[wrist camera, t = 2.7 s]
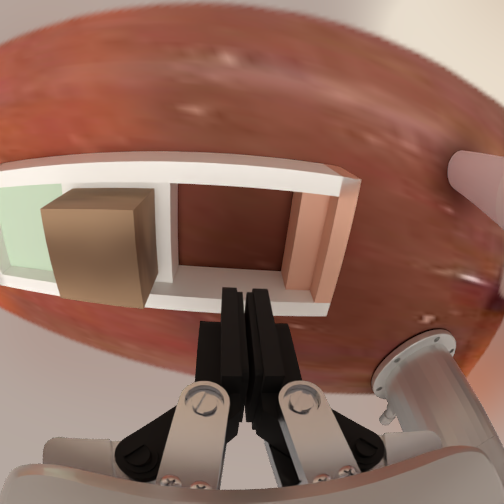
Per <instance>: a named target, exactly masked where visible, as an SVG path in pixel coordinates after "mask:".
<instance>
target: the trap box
mask: <svg viewBox="0 0 504 504" xmlns="http://www.w3.org/2000/svg"><path fill="white" fill-rule="evenodd" d="M178 183H183V184H205V185H222V186H237V187H251V188H263V189H274V190H285V191H294V192H293V198H292V205H291V212H290V218H289V225H288V231H287V237H286V243H285V250H284V256H283V262H282V268H281V271H267V270H249V269H232V268H216V267H200V266H185V265H179V261H178ZM360 185H361V179H359V178H358V177H356V176H355V175H353V174H351V173H350V172H348V171H346V170H344V169H343V168H341V167H339V166H334V165H328V164H321V163H314V162H307V161H299V160H291V159H283V158H273V157H263V156H252V155H240V154H225V153H207V152H177V151H134V152H104V153H87V154H74V155H62V156H52V157H43V158H35V159H27V160H20V161H13V162H7V163H2V164H0V285H3V286H8V287H13V288H18V289H23V290H29V291H34V292H40V293H45V294H51V295H57V296H60V294H59V290H58V287H57V284H56V280H55V277H54V273H53V269H52V265H51V261H50V257H49V253H48V248H47V244H46V239H45V234H44V229H43V223H42V217H41V211H40V209H41V208H42V207H44V206H45V205H47V204H48V203H50V202H52V201H53V200H55V199H56V198H58V197H60V196H61V195H63V194H64V193H66V192H68V191H69V190H71V189H73V188H154V190H155V227H156V246H157V261H158V275H157V277H156V280H155V282H154V285H153V287H152V290H151V292H150V294H149V297H148V299H147V302H146V304H145V307H149V308H159V309H170V310H182V311H195V312H209V313H221V301H222V287H232V288H237V292H243V304H244V312H245V302H246V294H247V292H252V289H253V288H258V289H268V292H269V297H270V302H271V307H272V312H273V316H327V313H328V309H329V306H330V303H331V300H332V296H333V293H334V290H335V286H336V283H337V279H338V276H339V272H340V269H341V265H342V261H343V257H344V254H345V250H346V246H347V242H348V238H349V234H350V230H351V226H352V221H353V217H354V213H355V208H356V204H357V199H358V194H359V189H360Z"/></svg>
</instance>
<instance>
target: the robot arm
mask: <svg viewBox="0 0 504 504" xmlns="http://www.w3.org/2000/svg"><path fill="white" fill-rule="evenodd" d="M455 349H456V341H455V338H454V337H453V336H452V334H451V333H450V332H449V331H447V330H443V329H437V330H431V331H427V332H424V333H422V334H419V335H417V336H415V337H413V338H411V339H410V340H408V341H406V342H405V343H403V344H402V345H400V346H399V347H398V348H396V349H395V350H394V351H393V352H392V353H390V354H389V355H388V356H387V357H386V358H385V359H384V360H383V362H382V363H381V364H380V365H379V367H378V368H377V369H376V371H375V373H374V375H373V377H372V381H371V386H372V389H373V391H374V394H375V395H376V396H377V397H379V398H383V399H387V402H388V405H387V410H386V411H385V412H384V413H383V414H382V415H381V417H380V418H379V421H380V423H381V424H382V425H388V424H390V422H392V420H393V419H394V418H395V416H397V418H398V420H399V423H400V425H401V428H402V430H403V432H399V433H384V434H383V435H377V434H376V433H374V432H372V431H370V430H369V429H367V428H365V427H363V426H361V425H359V424H357V423H356V422H354V421H352V420H350V419H348V418H347V417H345V416H343V415H341V414H340V413H338V412H336V411H334V410H332V409H331V407H330V405H329V403H328V401H327V399H326V397H325V395H324V393H323V392H322V390H321V389H320V388H319V387H317V386H316V385H315V384H313V383H310V382H307V381H302V378H301V374H300V370H299V366H298V362H297V358H296V354H295V350H294V346H293V342H292V337H291V333H290V329H289V326H288V324H275V322H274V317H273V312H272V307H271V302H270V297H269V292H268V289H258V288H253V289H252V292H247V294H246V302H245V312H244V304H243V292H237V288H232V287H222V301H221V322H205V321H200V328H199V338H198V350H197V362H196V374H195V382H194V383H192V384H190V385H188V386H187V387H185V388H184V389H183V390H182V392H181V395H180V397H179V400H178V403H177V405H176V406H175V407H174V408H172V409H170V410H169V411H167V412H166V413H164V414H163V415H161V416H160V417H158V418H157V419H155V420H154V421H152V422H150V423H149V424H147V425H146V426H144V427H142V428H141V429H139V430H137V431H136V432H134V433H133V434H131V435H129V436H128V437H126V438H124V439H123V440H122V441H111V440H110V439H80V438H64V437H56V438H52V439H50V440H48V441H47V443H46V444H45V445H44V449H43V464H28V465H22V466H19V467H17V468H15V469H14V470H13V471H11V472H10V474H9V475H8V477H7V479H6V481H5V483H4V485H3V488H2V491H1V494H0V504H504V448H503V446H502V443H501V441H500V439H499V437H498V435H497V433H496V431H495V429H494V427H493V425H492V423H491V421H490V420H489V418H488V416H487V414H486V412H485V410H484V408H483V407H482V405H481V403H480V401H479V399H478V398H477V396H476V394H475V392H474V391H473V389H472V387H471V386H470V384H469V382H468V381H467V379H466V377H465V376H464V374H463V373H462V371H461V369H460V368H459V366H458V365H457V363H456V362H455V360H454V358H453V355H454V353H455ZM244 406H245V413H246V422H252V429H253V430H256V434H257V435H258V436H260V437H261V438H262V439H264V442H265V443H264V444H265V447H266V451H267V454H268V457H269V460H270V464H271V467H272V470H273V473H274V476H275V479H276V483H277V486H278V488H268V489H250V490H220V486H221V478H222V472H223V465H224V459H225V452H226V445H227V443H228V442H229V441H230V440H232V439H233V438H234V437H235V436H236V435H237V433H238V427H239V422H242V418H243V412H244Z"/></svg>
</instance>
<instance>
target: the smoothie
mask: <svg viewBox="0 0 504 504" xmlns="http://www.w3.org/2000/svg"><path fill="white" fill-rule="evenodd" d="M447 174H448V180H449V183H450V185H451V186H452V187H453V188H454V189H455V190H456V191H458V192H459V193H460V194H462V195H463V196H464V197H466V198H467V199H468V200H469V201H471V202H472V203H473V204H474V205H476V206H477V207H478V208H479V209H481V210H482V211H483V212H484V213H485V214H486V215H488V216H489V217H490V218H491V219H492V220H493V221H495V222H496V223H497V224H498V225H499V226H500V227H501V228H502V229H503V230H504V157H501V156H496V155H490V154H484V153H478V152H471V151H464V150H460V151H457V152H456V153H455V154H454V155H453V156H452V157H451V159H450V161H449V164H448V171H447Z"/></svg>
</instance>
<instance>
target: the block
mask: <svg viewBox="0 0 504 504" xmlns="http://www.w3.org/2000/svg"><path fill="white" fill-rule="evenodd" d="M40 211H41V217H42V223H43V229H44V234H45V239H46V244H47V248H48V253H49V257H50V261H51V265H52V269H53V273H54V277H55V280H56V284H57V287H58V290H59V294H60V297H61V298H65V299H72V300H78V301H85V302H92V303H99V304H107V305H115V306H123V307H132V308H141V309H144V307H145V304H146V302H147V299H148V297H149V294H150V292H151V290H152V287H153V285H154V282H155V280H156V277H157V275H158V261H157V246H156V227H155V190H154V188H73V189H71V190H69V191H68V192H66V193H64V194H63V195H61V196H60V197H58V198H56V199H55V200H53V201H52V202H50V203H48V204H47V205H45V206H44V207H42V208H41V209H40Z"/></svg>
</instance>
